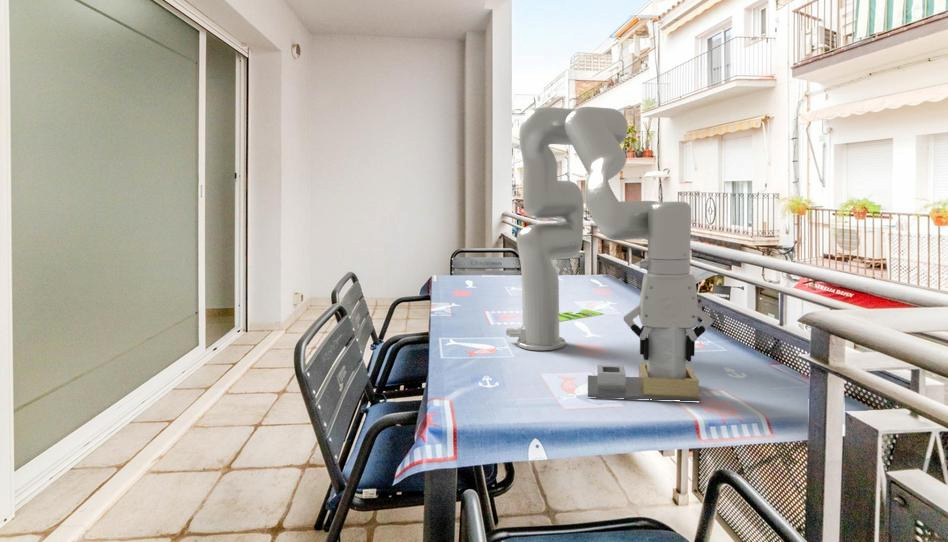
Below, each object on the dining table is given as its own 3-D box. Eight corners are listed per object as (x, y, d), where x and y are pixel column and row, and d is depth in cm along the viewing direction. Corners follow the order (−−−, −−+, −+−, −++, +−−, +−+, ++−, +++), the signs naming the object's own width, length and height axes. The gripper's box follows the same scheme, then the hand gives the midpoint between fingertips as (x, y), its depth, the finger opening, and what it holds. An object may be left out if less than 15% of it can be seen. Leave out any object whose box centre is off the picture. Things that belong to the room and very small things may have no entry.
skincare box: (686, 381, 101) (688, 320, 99) (674, 386, 98) (675, 323, 97) (658, 373, 106) (659, 315, 104) (645, 378, 103) (646, 318, 101)
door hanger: (585, 310, 181) (525, 320, 169) (585, 309, 181) (525, 318, 169) (604, 315, 173) (543, 325, 161) (604, 313, 173) (543, 323, 161)
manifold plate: (587, 398, 100) (587, 377, 99) (587, 379, 111) (587, 360, 110) (700, 403, 96) (700, 382, 95) (688, 382, 106) (689, 363, 106)
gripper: (621, 270, 97) (621, 363, 100) (722, 270, 94) (719, 366, 96) (619, 265, 105) (618, 351, 107) (713, 264, 101) (710, 354, 103)
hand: (666, 358), depth 101 cm, fingers closed on skincare box, 7 cm apart
